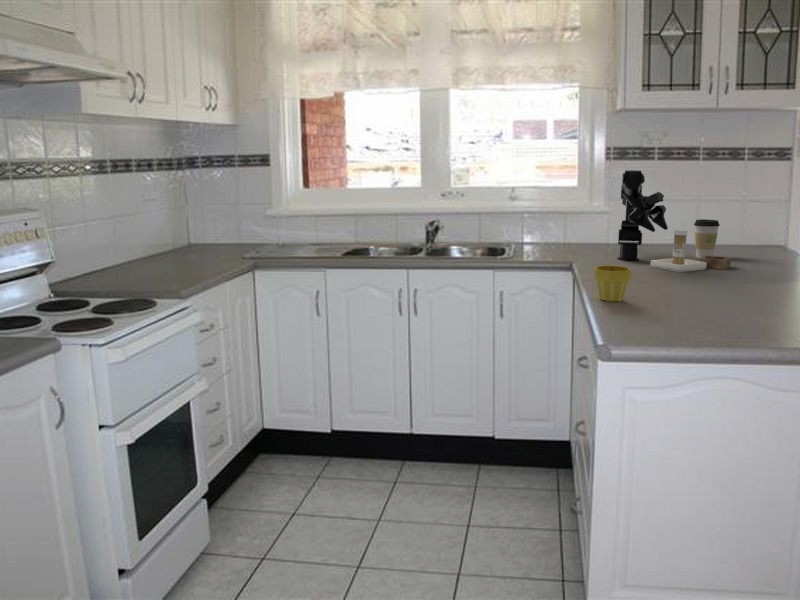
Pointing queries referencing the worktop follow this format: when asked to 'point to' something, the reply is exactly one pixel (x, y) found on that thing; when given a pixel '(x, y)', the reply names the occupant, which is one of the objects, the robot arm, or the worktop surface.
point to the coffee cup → (705, 237)
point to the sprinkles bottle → (679, 246)
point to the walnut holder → (716, 262)
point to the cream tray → (687, 266)
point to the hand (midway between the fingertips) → (660, 230)
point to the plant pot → (612, 281)
